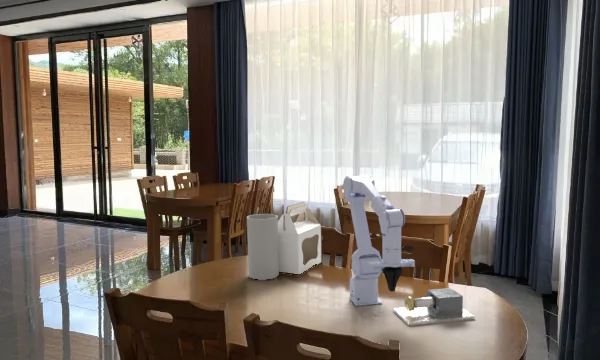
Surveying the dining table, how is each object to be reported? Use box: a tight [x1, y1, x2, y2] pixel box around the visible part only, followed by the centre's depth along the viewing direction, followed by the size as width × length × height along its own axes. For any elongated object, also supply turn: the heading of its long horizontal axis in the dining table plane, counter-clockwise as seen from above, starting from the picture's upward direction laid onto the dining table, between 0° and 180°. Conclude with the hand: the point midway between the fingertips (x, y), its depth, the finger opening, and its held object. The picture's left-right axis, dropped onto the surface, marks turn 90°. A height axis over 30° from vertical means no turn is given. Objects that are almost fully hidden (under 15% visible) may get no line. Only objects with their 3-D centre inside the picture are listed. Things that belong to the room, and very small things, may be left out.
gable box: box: [278, 201, 322, 275], centre depth 205 cm, size 22×13×28 cm, turn 152°
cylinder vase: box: [246, 213, 280, 281], centre depth 192 cm, size 12×12×25 cm
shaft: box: [404, 295, 436, 311], centre depth 149 cm, size 15×4×4 cm, turn 101°
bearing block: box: [392, 287, 476, 327], centre depth 150 cm, size 22×12×7 cm, turn 101°
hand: (391, 290), depth 146 cm, fingers closed
